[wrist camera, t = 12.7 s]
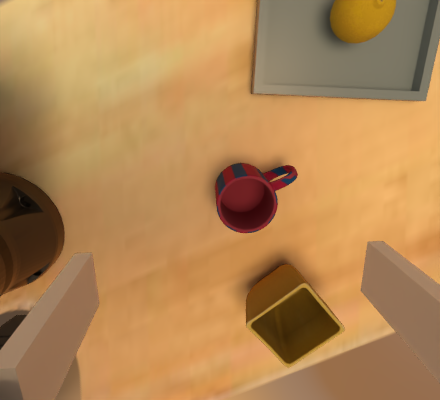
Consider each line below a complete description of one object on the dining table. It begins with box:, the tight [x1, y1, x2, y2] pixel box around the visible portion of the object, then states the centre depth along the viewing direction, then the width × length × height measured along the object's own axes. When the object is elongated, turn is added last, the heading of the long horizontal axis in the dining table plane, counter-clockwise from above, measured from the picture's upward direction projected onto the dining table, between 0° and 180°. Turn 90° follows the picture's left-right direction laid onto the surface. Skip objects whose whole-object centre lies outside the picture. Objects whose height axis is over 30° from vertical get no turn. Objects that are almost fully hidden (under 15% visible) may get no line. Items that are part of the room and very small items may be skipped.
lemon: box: [330, 0, 396, 43], centre depth 32 cm, size 6×6×8 cm
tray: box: [251, 0, 440, 101], centre depth 35 cm, size 20×16×2 cm
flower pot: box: [246, 264, 345, 368], centre depth 42 cm, size 9×9×9 cm
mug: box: [215, 163, 298, 233], centre depth 38 cm, size 7×10×7 cm
